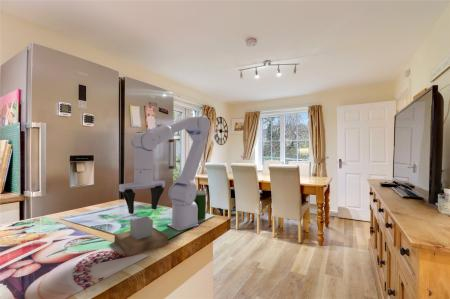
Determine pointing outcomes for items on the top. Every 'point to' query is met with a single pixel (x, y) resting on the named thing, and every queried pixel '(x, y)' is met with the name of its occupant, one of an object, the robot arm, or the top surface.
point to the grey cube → (141, 227)
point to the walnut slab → (140, 242)
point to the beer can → (201, 204)
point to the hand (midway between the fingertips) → (142, 211)
